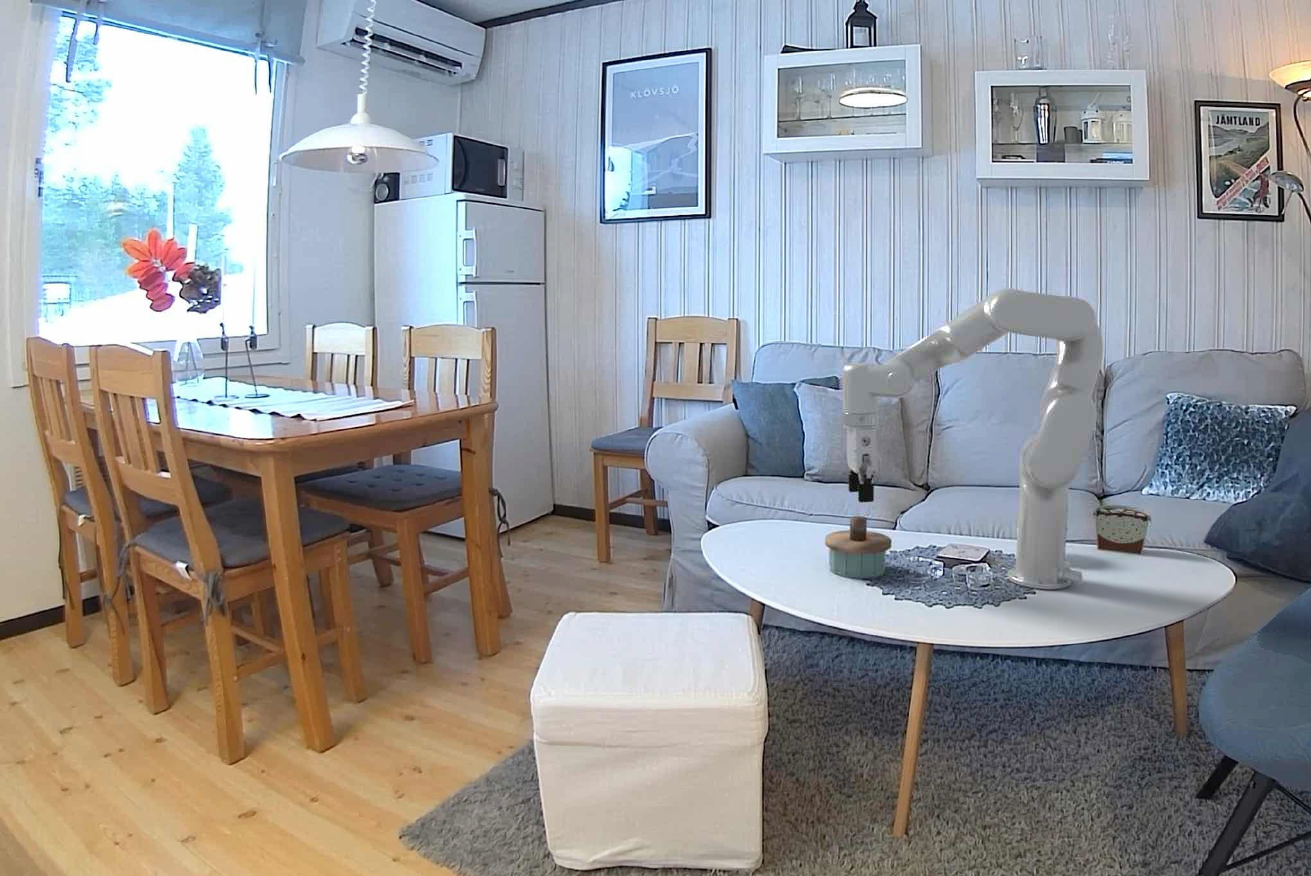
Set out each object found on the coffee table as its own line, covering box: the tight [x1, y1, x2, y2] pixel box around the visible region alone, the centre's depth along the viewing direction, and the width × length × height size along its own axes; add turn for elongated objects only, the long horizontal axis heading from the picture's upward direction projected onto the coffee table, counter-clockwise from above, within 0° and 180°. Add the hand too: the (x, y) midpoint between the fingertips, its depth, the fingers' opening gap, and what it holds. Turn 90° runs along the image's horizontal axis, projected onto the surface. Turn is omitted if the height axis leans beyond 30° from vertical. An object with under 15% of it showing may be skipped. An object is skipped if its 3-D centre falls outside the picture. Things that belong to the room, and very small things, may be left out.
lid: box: [824, 515, 892, 554], centre depth 203 cm, size 14×14×7 cm
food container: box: [1092, 504, 1152, 556], centre depth 215 cm, size 12×6×10 cm, turn 58°
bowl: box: [828, 548, 887, 580], centre depth 204 cm, size 12×12×6 cm
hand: (860, 496), depth 202 cm, fingers open, 9 cm apart
